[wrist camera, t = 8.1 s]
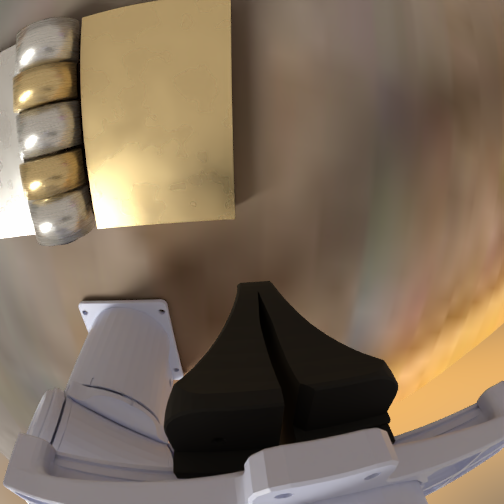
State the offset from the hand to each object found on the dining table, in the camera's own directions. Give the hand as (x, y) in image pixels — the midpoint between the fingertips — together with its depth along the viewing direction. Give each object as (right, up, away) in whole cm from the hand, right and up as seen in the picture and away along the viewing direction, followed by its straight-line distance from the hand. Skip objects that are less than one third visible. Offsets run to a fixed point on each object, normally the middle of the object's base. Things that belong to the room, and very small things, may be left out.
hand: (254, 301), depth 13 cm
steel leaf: (-18, +10, +3) cm, 21 cm away
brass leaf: (-8, +11, +4) cm, 14 cm away
